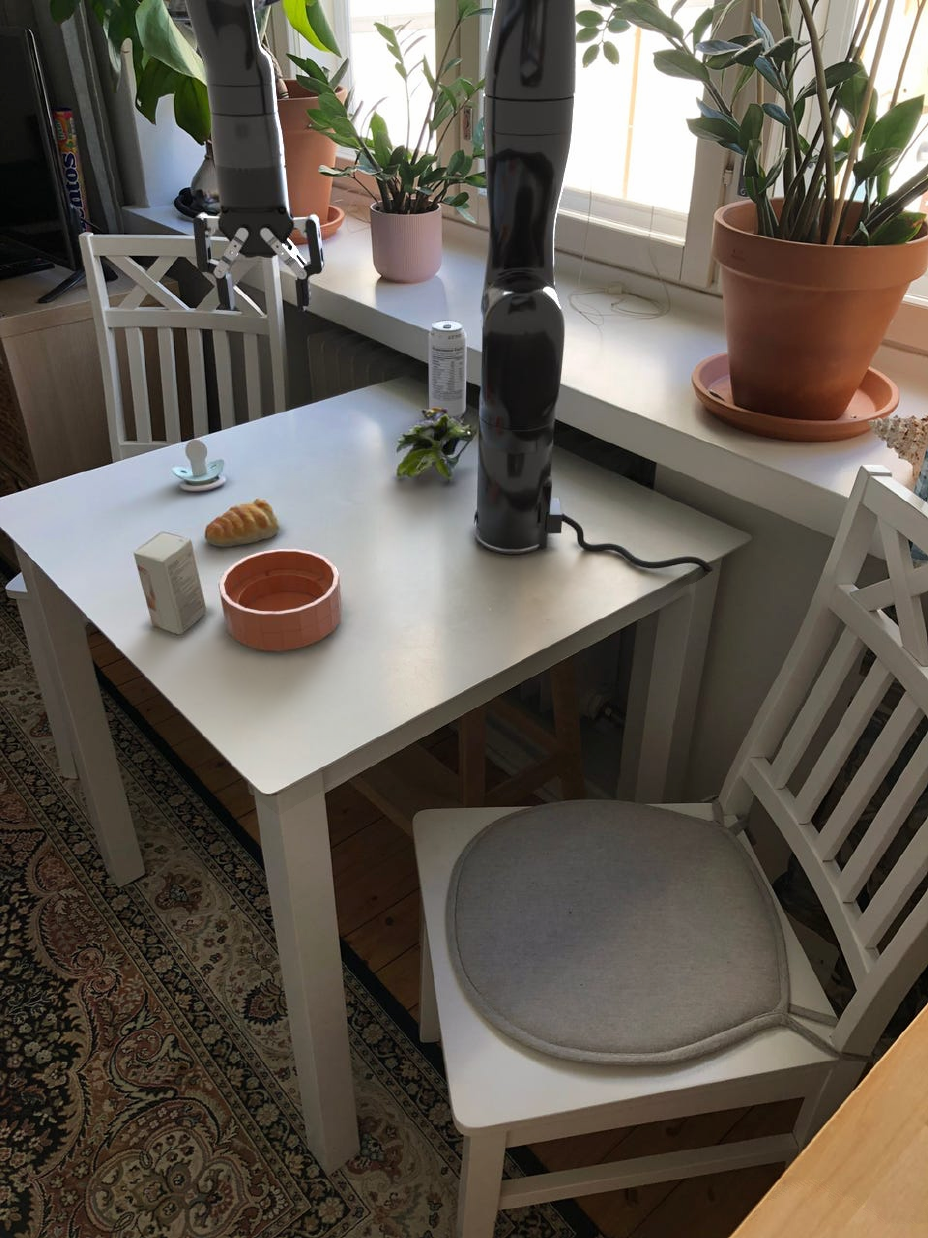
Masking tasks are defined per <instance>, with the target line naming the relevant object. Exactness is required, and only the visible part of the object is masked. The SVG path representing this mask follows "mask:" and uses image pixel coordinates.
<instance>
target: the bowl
mask: <svg viewBox="0 0 928 1238" xmlns="http://www.w3.org/2000/svg"><path fill="white" fill-rule="evenodd" d="M340 582H341V581H340V574H339V571H338V569H337V566H336V565H335V564H334V563H333V562H332V561H331V560H330V559H328V557H326V556H324V555H320V554H318V553H316V552H314V551H311V550H310V551H309V550H304V549H299V548H279V549H278V548H277V549H270V550H264V551H259V552H256V553H253V554H251V555H247V556H245V557H243V558H241V559H240V560H238V561H236V562H234V563H233V564H232V565H230V566H229V567H228V568H227V569H226V570H225V571H223V573H222V575H221V576H220V580H219V582H218V589H219V595H220V603H221V607H222V613H223V618H224V623H225V624H224V625H225V630H226V631H227V632H228V634H229V635H230V636H231V637H232V638H233V639H234V640H235V641H237V642H239V643H240V644H242V645H244V646H246V647H248V648H252V649H253V648H254V649H257V650H262V651H289V650H294V649H298V648H299V649H300V648H305V647H306V646H309V645H312V644H314V643H317V642H319V641H321V640H323V639H324V638H325V637H326V636H328V635H329V634H331V633H332V632H333V631H334V630H335V628H336V627H337V626H338V625H339V624H340V622H341V618H342V613H343V605H342V594H341V592H342V591H341V583H340Z"/></svg>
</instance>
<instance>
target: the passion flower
mask: <svg viewBox="0 0 928 1238" xmlns="http://www.w3.org/2000/svg"><path fill="white" fill-rule="evenodd" d="M447 412H448V409H447V408H443V409H440V408H437V407H434V408H432V410H429V408H427V409H425V408H424V409H422V410H421V413H422V416H423V418H425V419H428V420H425V419H423V421H422V420H421V419H419V422H415V424H411V426H412V428H408V430H407V433H401V437H402V439H397V440H396V441H397V443H399V444H398V446H397V447H396V451H395V452H396V453H397V454H398V453H399V452H400V451H402V449H404V450H405V449H407V448H408V447H411V446H412V447H411V449H409V451H408V452H407V453H406V455H405V456H404V458H403V459H402V461H401V462H400V463H398V466H397V467H396V476H397V477H398V478H399V479H400V478H402V477H404V476H407V477H409V478H413V477H415V476H418V475H420V474H422V473H423V472H424V471H426V470H428V469H429V468H430V467H431V466H433V465H435V467H436V469H437V471H438V472H439V473H440V474H441V475H442V476H444V477H445V478H447V485H449V484H450V481H451V479H452V476H453V472H454V470H455V467H456V466H457V464H458V463H459V459H460V457H461V455H462V454H463V452H464V451H465V449H466V448H467V447H468V445H469V444H470V442H472V441H473V440H474V438H475V436H476V435H477V430H478V428H477V425H475V426H474V427H473V429H472V424H467V423H465V422H464V420H465V419H464V418H461V417H457V418H456V419H455V418H454V417H451V416H450V415H446V413H447ZM439 417H440V418H439ZM438 418H439V419H438ZM460 441H463V442H466V443H464V445H463V446H462V449H461V450H460V451H459V452H458V453H457V454H456V455H455V456H454V457H450V456H452V455H454V454H455V452H456V448H457V446H458V444H459V443H460Z"/></svg>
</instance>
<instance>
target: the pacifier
mask: <svg viewBox="0 0 928 1238" xmlns="http://www.w3.org/2000/svg"><path fill="white" fill-rule="evenodd" d="M184 452H185V455H186V458H187V459H188V460H189V462H190V468H189V467H184V466H174V467H172V473H173V474H174V475H175V476H176V477H178V478H179V479H181V480H182V481H181V483H180V484H179V487H180V489H181V490H184V491H188V492H202V491H208V490H212V489H216V488H218V487H221V486H222V485H223V484H225V482H226V480H227V479H226V477H225V476H224V475H221V473H222V472H223V471H224V469H225V466H226V462H225V460H224V459H216V460H213V461H211V462H209V463H208V464H207V461H206V459H207V456H208V447H207V445H206V444H205V443H204V441H202V440H200V439H196V438H195V439H191V440H189V441H188V442H187V443H186V445H185V448H184ZM215 480H216V481H215Z"/></svg>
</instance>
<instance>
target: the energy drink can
mask: <svg viewBox="0 0 928 1238" xmlns="http://www.w3.org/2000/svg"><path fill="white" fill-rule="evenodd" d="M431 327H432V328H431V330H430V331H429V333H428V409H429V410H432V408H434V407H437V408H440V409H443V408H447V409H448V412H447V413H446V415H450V416H451V417H454V418H455V419H456V418H457V417H460V418H462V417H463V414H464V413H465V412H466V407H467V406H466V405H467V404H466V401H467V398H466V397H467V345H468V344H467V342H468V341H467V338H468V337H467V333H466V332H465V329H464V324H463V323H462V322H460V321H458V320H453V319H441V320H437V321H435V322H433V323H432V325H431ZM439 418H440V417H439ZM439 418H438V419H439Z"/></svg>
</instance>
